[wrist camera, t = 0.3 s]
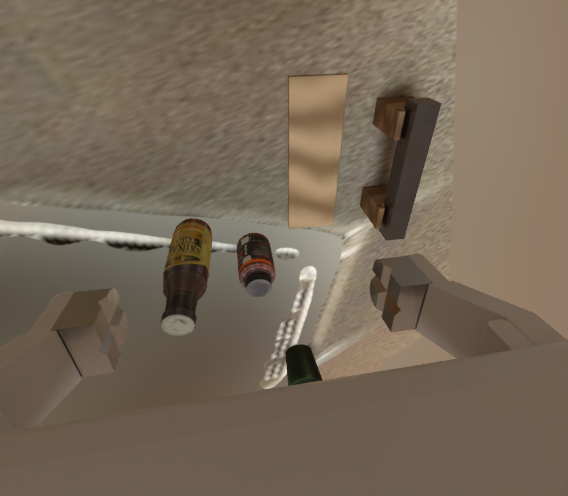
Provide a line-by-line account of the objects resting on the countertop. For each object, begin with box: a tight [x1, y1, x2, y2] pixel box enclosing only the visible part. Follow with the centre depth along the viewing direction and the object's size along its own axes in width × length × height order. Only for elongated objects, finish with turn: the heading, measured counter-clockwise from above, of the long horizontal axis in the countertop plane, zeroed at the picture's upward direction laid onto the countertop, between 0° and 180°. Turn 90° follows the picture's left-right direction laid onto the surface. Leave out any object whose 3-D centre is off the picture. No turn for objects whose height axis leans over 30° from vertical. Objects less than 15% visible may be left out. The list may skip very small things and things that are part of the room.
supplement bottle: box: [237, 233, 275, 298], centre depth 53 cm, size 6×6×11 cm
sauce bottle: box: [161, 219, 212, 335], centre depth 46 cm, size 7×6×20 cm
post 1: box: [360, 185, 388, 228], centre depth 53 cm, size 4×5×7 cm, turn 90°
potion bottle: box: [286, 345, 322, 386], centre depth 73 cm, size 8×8×18 cm
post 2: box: [373, 96, 415, 140], centre depth 44 cm, size 4×5×7 cm, turn 90°
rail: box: [379, 98, 441, 240], centre depth 45 cm, size 20×3×3 cm, turn 0°
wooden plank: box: [289, 74, 348, 229], centre depth 50 cm, size 24×8×1 cm, turn 0°
